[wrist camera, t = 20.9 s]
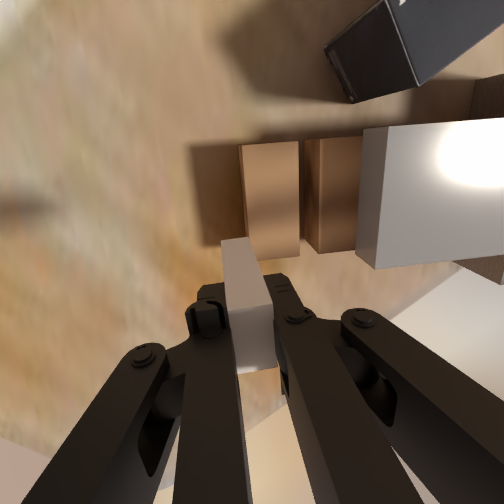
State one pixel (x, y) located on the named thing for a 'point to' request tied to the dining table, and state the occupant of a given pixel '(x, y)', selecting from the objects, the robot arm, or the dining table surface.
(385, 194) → the slab
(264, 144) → the bed
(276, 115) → the dining table surface
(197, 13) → the dining table surface
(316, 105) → the dining table surface
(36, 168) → the dining table surface
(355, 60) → the small box
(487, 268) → the bar
